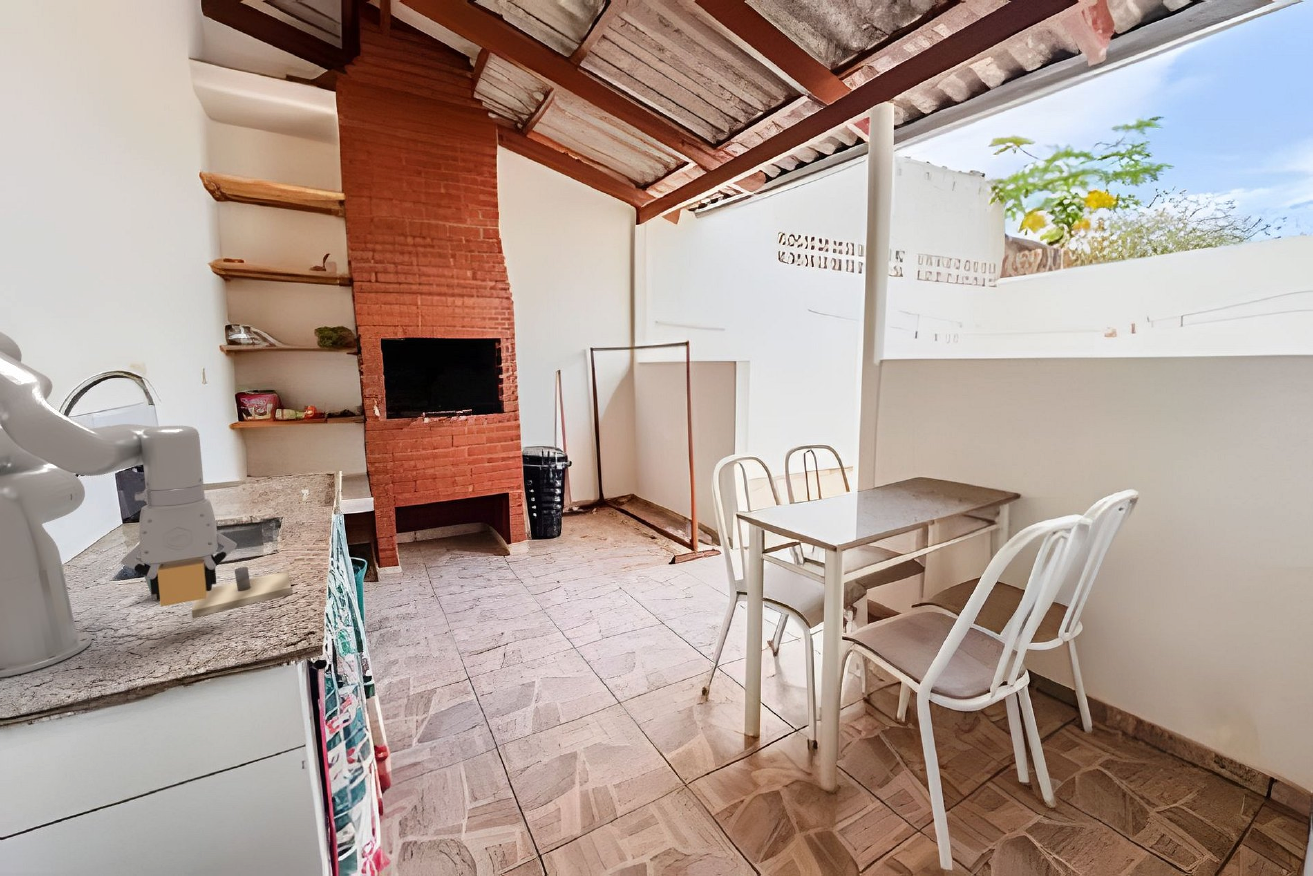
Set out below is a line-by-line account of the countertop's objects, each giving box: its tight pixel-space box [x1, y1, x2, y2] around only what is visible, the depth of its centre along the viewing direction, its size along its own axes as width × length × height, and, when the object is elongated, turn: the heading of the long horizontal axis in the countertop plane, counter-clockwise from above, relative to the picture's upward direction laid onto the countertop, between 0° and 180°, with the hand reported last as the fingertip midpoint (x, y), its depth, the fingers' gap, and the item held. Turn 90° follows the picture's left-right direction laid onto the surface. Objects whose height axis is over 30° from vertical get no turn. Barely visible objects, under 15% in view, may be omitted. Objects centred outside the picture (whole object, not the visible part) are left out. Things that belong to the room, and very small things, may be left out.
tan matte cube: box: [157, 558, 208, 607], centre depth 94 cm, size 6×6×6 cm
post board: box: [191, 566, 293, 618], centre depth 111 cm, size 16×12×6 cm
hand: (185, 591), depth 95 cm, fingers closed on tan matte cube, 5 cm apart
